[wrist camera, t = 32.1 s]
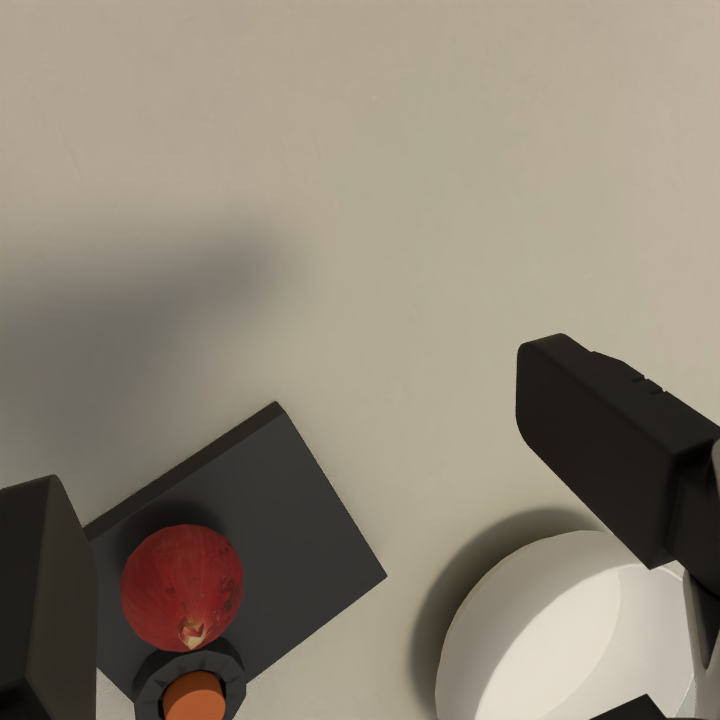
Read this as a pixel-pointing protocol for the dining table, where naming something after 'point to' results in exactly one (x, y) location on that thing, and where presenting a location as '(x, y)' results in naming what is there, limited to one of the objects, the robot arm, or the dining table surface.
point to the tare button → (194, 698)
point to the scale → (253, 546)
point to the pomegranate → (182, 587)
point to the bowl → (566, 635)
